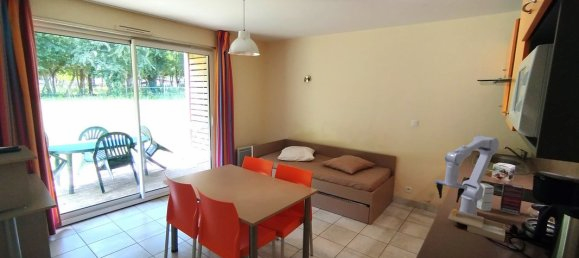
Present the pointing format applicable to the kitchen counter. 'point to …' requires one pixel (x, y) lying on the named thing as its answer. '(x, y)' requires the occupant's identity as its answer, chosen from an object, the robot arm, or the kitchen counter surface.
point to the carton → (490, 230)
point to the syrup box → (486, 198)
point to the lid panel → (466, 218)
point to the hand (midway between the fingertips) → (448, 199)
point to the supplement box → (511, 198)
